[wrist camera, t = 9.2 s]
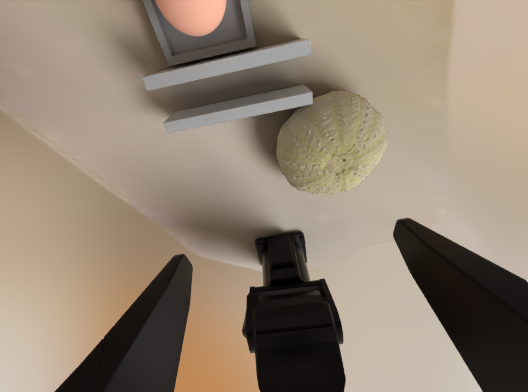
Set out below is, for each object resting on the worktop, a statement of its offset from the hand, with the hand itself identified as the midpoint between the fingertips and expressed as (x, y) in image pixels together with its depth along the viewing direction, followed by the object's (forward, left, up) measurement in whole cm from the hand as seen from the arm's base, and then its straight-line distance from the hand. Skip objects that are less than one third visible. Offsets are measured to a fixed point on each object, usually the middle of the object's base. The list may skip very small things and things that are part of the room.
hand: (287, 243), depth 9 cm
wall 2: (+3, +2, -13) cm, 13 cm away
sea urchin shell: (-2, -5, -13) cm, 14 cm away
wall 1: (+6, +2, -13) cm, 14 cm away
